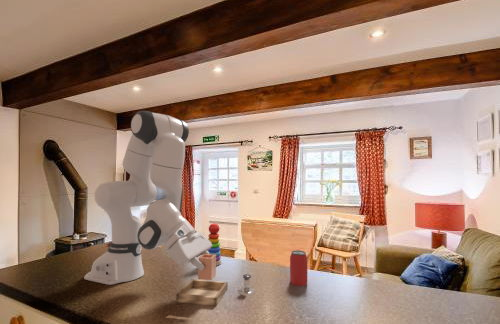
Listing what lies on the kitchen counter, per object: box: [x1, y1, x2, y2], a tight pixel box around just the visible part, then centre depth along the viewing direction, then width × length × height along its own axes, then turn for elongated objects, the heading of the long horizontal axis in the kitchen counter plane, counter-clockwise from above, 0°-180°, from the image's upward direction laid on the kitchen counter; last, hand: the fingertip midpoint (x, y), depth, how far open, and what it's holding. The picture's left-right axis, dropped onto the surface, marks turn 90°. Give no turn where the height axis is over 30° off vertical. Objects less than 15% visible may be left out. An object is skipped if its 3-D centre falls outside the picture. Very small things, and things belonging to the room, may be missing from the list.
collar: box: [197, 254, 217, 281], centre depth 89 cm, size 5×5×7 cm
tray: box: [175, 278, 229, 307], centre depth 90 cm, size 14×13×3 cm
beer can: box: [289, 249, 308, 287], centre depth 101 cm, size 7×7×12 cm
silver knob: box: [237, 273, 257, 297], centre depth 93 cm, size 6×6×6 cm
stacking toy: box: [207, 222, 222, 266], centre depth 124 cm, size 8×8×19 cm
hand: (207, 266), depth 89 cm, fingers closed on collar, 5 cm apart
